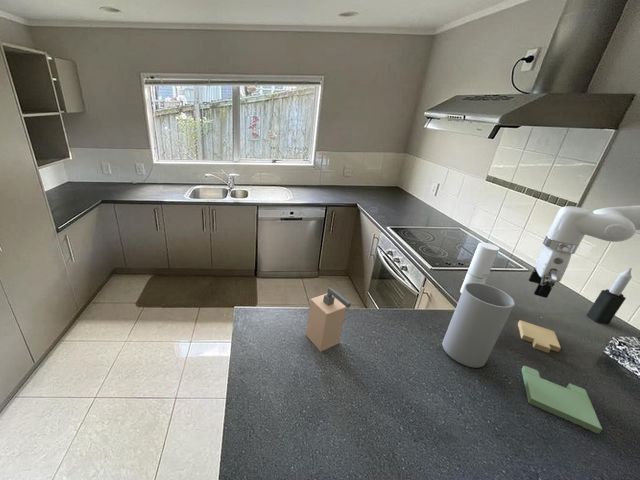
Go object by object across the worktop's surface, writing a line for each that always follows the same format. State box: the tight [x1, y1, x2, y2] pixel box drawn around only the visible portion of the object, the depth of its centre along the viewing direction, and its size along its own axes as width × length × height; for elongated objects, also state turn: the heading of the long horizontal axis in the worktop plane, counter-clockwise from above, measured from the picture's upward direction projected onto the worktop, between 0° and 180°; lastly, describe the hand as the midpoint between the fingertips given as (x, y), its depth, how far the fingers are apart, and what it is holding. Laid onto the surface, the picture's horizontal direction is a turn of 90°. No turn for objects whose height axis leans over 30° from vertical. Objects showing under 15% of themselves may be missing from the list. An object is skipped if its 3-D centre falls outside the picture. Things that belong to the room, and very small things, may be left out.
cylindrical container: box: [459, 241, 500, 295], centre depth 124 cm, size 7×7×25 cm
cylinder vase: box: [442, 283, 516, 368], centre depth 92 cm, size 12×12×25 cm
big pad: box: [521, 365, 603, 435], centre depth 82 cm, size 14×14×2 cm
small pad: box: [517, 319, 561, 354], centre depth 104 cm, size 10×13×2 cm
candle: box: [586, 267, 633, 325], centre depth 111 cm, size 5×5×25 cm
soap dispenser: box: [305, 287, 352, 353], centre depth 94 cm, size 13×9×22 cm
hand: (537, 288), depth 96 cm, fingers open, 9 cm apart
